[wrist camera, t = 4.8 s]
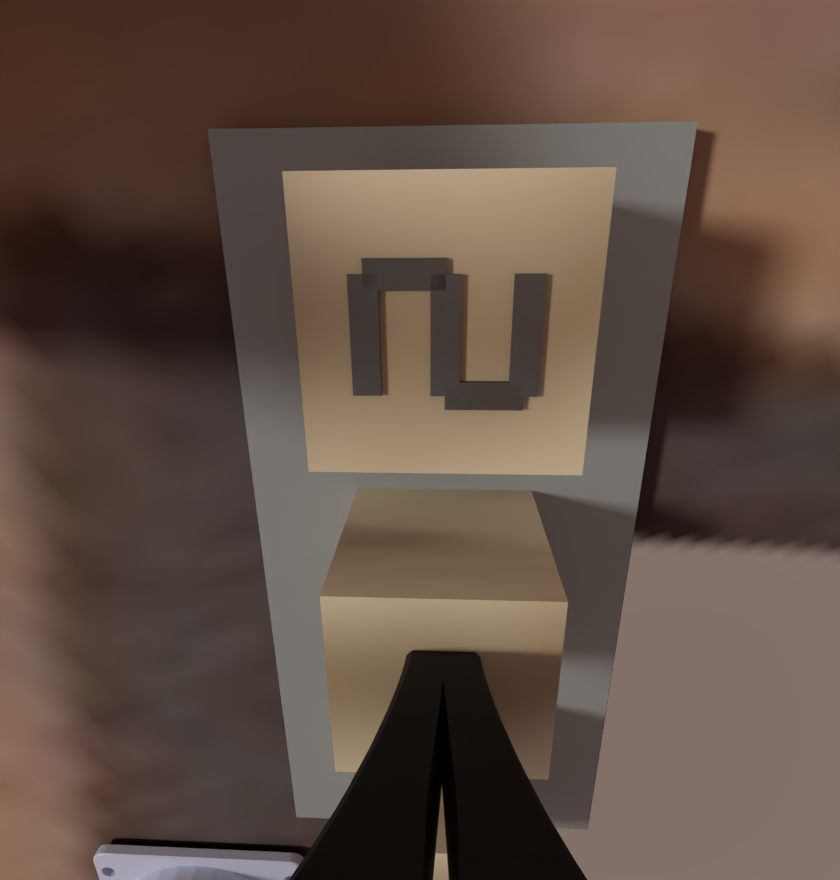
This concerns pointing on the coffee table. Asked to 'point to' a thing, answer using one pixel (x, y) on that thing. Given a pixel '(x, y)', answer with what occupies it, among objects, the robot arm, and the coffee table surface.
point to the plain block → (443, 609)
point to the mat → (556, 496)
